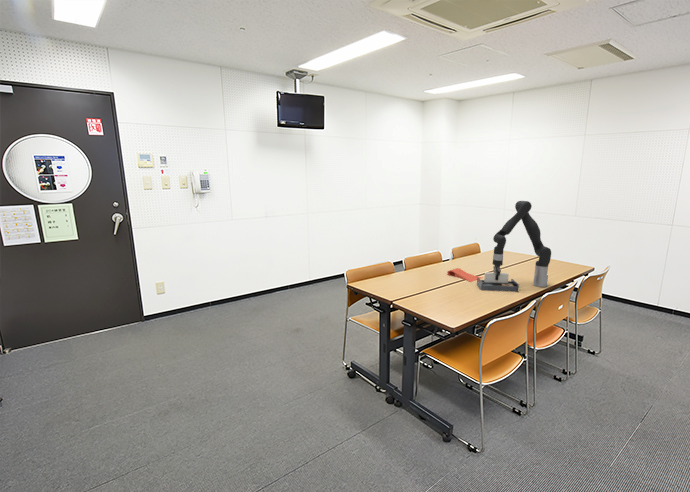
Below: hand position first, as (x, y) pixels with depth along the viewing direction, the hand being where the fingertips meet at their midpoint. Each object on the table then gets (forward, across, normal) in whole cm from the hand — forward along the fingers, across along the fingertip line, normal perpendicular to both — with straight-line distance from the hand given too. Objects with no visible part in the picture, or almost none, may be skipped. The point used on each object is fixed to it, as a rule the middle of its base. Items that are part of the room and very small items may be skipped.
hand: (496, 279), depth 286 cm
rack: (+6, -4, 0) cm, 7 cm away
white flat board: (+6, 0, 0) cm, 6 cm away
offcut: (+4, -7, -7) cm, 11 cm away
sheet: (+7, +25, +19) cm, 32 cm away
